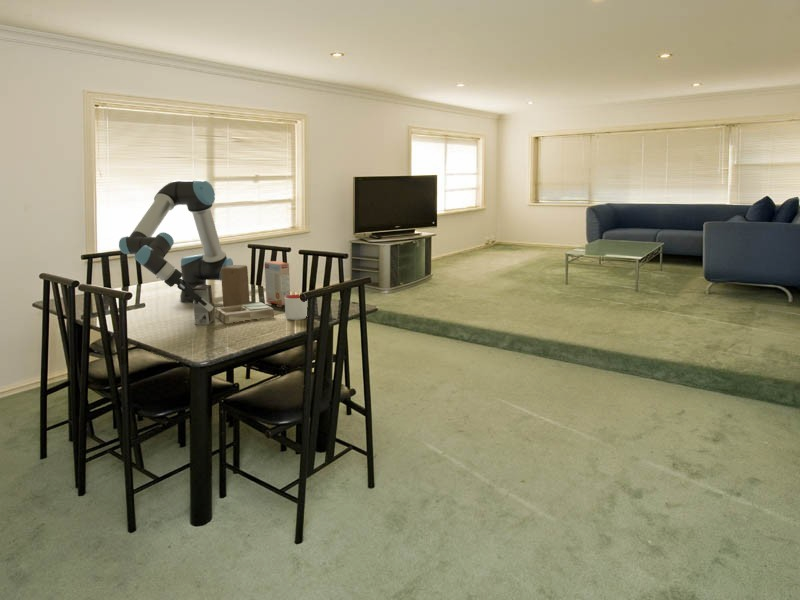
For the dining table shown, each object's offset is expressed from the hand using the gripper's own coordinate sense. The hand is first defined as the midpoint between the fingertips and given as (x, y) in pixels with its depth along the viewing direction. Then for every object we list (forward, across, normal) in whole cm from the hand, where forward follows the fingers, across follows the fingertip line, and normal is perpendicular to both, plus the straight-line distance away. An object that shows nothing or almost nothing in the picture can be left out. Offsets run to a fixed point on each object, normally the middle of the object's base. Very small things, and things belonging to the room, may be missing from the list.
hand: (210, 306), depth 259 cm
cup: (+30, +11, +21) cm, 38 cm away
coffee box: (+3, 0, -7) cm, 7 cm away
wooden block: (+16, -28, +6) cm, 33 cm away
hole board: (+15, -2, +6) cm, 17 cm away
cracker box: (+30, -26, +21) cm, 45 cm away
